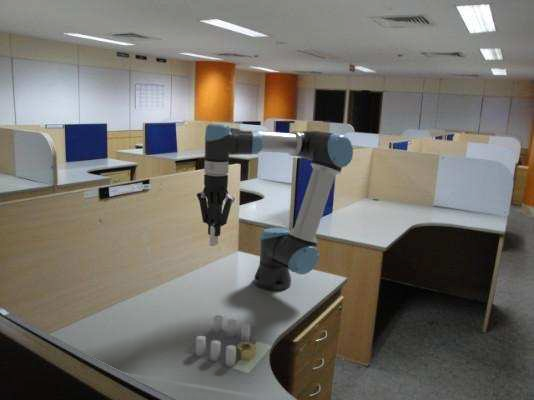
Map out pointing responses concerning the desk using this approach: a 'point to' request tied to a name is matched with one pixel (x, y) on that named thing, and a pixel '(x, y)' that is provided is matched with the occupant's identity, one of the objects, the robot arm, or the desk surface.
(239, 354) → the nut
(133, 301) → the desk surface
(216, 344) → the spacer field
